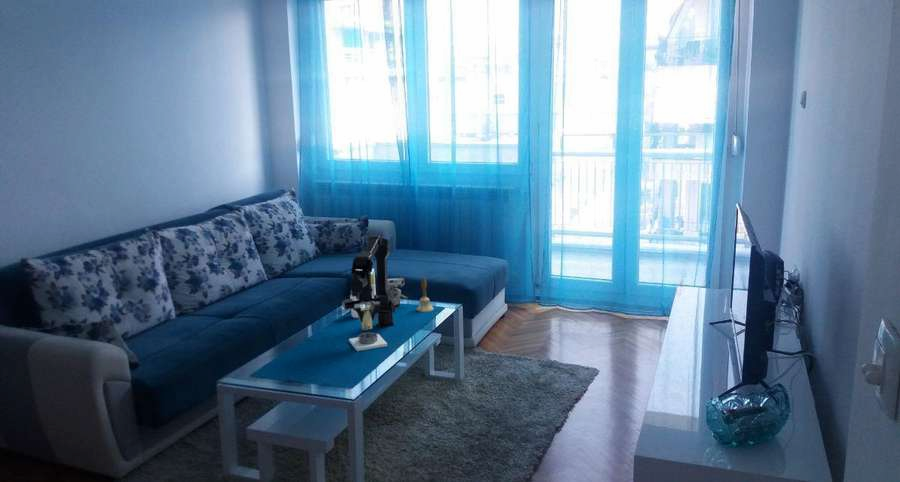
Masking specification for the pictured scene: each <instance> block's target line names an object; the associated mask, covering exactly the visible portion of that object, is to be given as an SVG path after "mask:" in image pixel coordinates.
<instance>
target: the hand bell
mask: <svg viewBox="0 0 900 482" xmlns="http://www.w3.org/2000/svg"><path fill="white" fill-rule="evenodd" d="M420 285H421V287H420V288H421V289H422V297H421V298H420V299H419V305H418V307H416V311H417V312H420V313H428V312H432V311H433V310H434V307H433V306H432V305H431V304H432V303H431V302H430V298H429V297H427V280H426V278H425V277H422V278H421V284H420Z"/></svg>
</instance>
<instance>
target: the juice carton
mask: <svg viewBox="0 0 900 482" xmlns="http://www.w3.org/2000/svg"><path fill="white" fill-rule="evenodd" d="M375 276H376V275H375V268H373V269H372V272H371V286H372V298H374V296H375V295H376V293H377V292H376V290H377V289H376V277H375ZM365 308H369V309H371V303H368V304H365Z"/></svg>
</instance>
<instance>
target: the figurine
mask: <svg viewBox="0 0 900 482" xmlns="http://www.w3.org/2000/svg"><path fill="white" fill-rule="evenodd" d="M387 284H388V291H389V293H390V294H391V297H392V301H393V303H394V305H395V307H400V306H401V302H402V303H403V302H404V299H405V300H408V298H410V294H408V295H407V296H405V295H404V294H402V290H401V289H399V288H402V287H403V286H404V285H405V279H404V278H403V277H400V278H399V277H398V278H397V277H396V278H387ZM401 298H402V299H401Z"/></svg>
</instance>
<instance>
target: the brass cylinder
mask: <svg viewBox="0 0 900 482" xmlns="http://www.w3.org/2000/svg"><path fill="white" fill-rule="evenodd" d="M361 314H362V322H361V330H364V331H369V330H373V321H372V312H371V308H365V309H362V310H361Z"/></svg>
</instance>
